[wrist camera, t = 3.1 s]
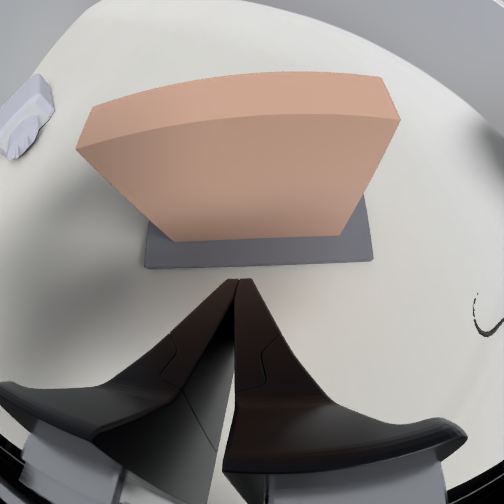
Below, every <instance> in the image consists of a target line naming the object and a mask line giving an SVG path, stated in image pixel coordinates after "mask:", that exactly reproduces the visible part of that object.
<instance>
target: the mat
mask: <svg viewBox="0 0 504 504" xmlns="http://www.w3.org/2000/svg"><path fill="white" fill-rule="evenodd" d="M373 259H374V258H373V250H372V243H371V235H370V229H369V222H368V216H367V210H366V205H365V199H364V194H363V195H362V197H361V199H360V200H359V202H358V204H357V206H356V208H355V209H354V211H353V213H352V215H351V216H350V218H349V220H348V222H347V223H346V225H345V227H344V229H343V230H342V232H341V234H340V235H339V236H312V237H283V238H257V239H234V240H211V241H190V242H174V241H172V240H171V239H170V238H169V237H168V236H167V235H166V234H165V233H163V232H162V231H161V230H160V229H159V228H158V227H157V226H156V225H154V224H153V223H152V222H151V221H150V220H149V224H148V233H147V242H146V252H145V263H144V267H146V268H148V269H156V268H202V267H238V266H269V265H296V264H321V263H345V262H366V261H371V260H373Z"/></svg>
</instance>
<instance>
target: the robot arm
mask: <svg viewBox="0 0 504 504" xmlns="http://www.w3.org/2000/svg"><path fill="white" fill-rule="evenodd" d="M233 373H234V374H235V410H234V415H233V419H232V424H231V428H230V432H229V437H228V441H227V445H226V450H225V454H224V458H223V465H222V472H223V474H224V475H225V476H226V478H227V479H228V480H229V481H230V483H231V484H232V485H233V487H234V488H235V489H236V490H237V492H238V493H239V494H240V495H241V496H242V498H243V499H244V500H245V501H246V502H247V504H504V460H503V461H502V462H500V463H499V464H497V465H495V466H494V467H492V468H490V469H489V470H487V471H485V472H483V473H482V474H480V475H478V476H476V477H474V478H472V479H471V480H469V481H467V482H465V483H463V484H461V485H458V486H456V487H454V488H452V489H450V490H448V491H447V490H446V485H445V480H444V475H443V471H442V466H441V461H443V460H444V459H446V458H447V457H448V456H450V455H451V454H452V453H454V452H455V451H456V450H457V449H459V448H460V447H461V446H462V445H463V444H464V443H465V442H466V441H467V439H468V436H467V434H466V433H465V432H464V430H463V429H461V427H459V426H458V425H456V424H455V423H453V422H451V421H449V420H446V419H444V418H440V417H437V418H430V419H426V420H423V421H419V422H416V423H411V424H401V425H397V424H389V423H385V422H382V421H379V420H376V419H374V418H371V417H368V416H366V415H363V414H360V413H358V412H355V411H353V410H350V409H348V408H346V407H343V406H341V405H339V404H337V403H336V402H334V401H333V400H332V399H330V398H329V397H328V396H327V395H326V393H325V392H324V391H323V390H322V389H321V388H320V386H319V385H318V384H317V383H316V382H315V380H314V379H313V378H312V377H311V375H310V374H309V373H308V372H307V371H306V369H305V368H304V367H303V366H302V364H301V363H300V362H299V360H298V359H297V358H296V356H295V355H294V354H293V352H292V350H291V349H290V347H289V345H288V344H287V342H286V340H285V338H284V337H283V335H282V333H281V331H280V330H279V328H278V326H277V324H276V322H275V321H274V319H273V317H272V315H271V313H270V311H269V310H268V308H267V306H266V304H265V302H264V300H263V299H262V297H261V295H260V293H259V291H258V289H257V287H256V286H255V284H254V282H253V280H252V279H251V278H246V279H240V280H239V279H227V280H226V281H225V282H223V283H222V284H221V285H220V286H219V287H218V288H217V289H216V290H215V291H214V292H213V293H212V294H211V295H210V296H208V297H207V298H206V299H205V300H204V301H203V302H202V303H201V304H200V305H199V306H198V307H197V308H196V309H195V310H193V311H192V312H191V313H190V314H189V315H188V316H187V317H186V318H185V319H184V320H183V321H182V322H181V323H180V324H178V325H177V326H176V327H175V328H174V329H173V330H172V331H171V332H170V334H168V335H167V336H165V337H164V338H163V339H162V340H161V341H160V342H159V343H158V344H157V345H155V346H154V347H153V348H152V349H151V350H150V351H148V352H147V353H146V354H144V355H143V356H142V357H141V358H139V359H138V360H137V361H135V362H134V363H133V364H131V365H130V366H129V367H127V368H126V369H125V370H123V371H122V372H120V373H119V374H118V375H116V376H115V377H114V378H112V379H111V380H109V381H108V382H106V383H104V384H101V385H99V386H94V387H85V388H66V389H33V388H26V387H23V386H20V385H18V384H16V383H14V382H11V381H8V382H0V405H1V406H2V407H3V408H4V409H5V410H6V411H7V412H8V413H9V414H10V415H11V416H12V417H13V418H14V419H15V420H16V421H17V422H19V423H20V424H21V425H22V426H23V427H24V428H25V429H27V430H28V431H29V432H30V434H29V436H28V438H27V440H26V443H25V445H24V447H23V450H21V449H19V448H18V447H16V446H15V445H14V444H12V443H11V442H10V441H8V440H7V439H6V438H5V437H3V436H2V435H1V434H0V504H207V500H208V495H209V490H210V485H211V481H212V476H213V471H214V466H215V462H216V457H217V454H216V453H217V452H218V447H219V442H220V437H221V432H222V427H223V422H224V417H225V413H226V408H227V403H228V398H229V393H230V388H231V383H232V378H233Z"/></svg>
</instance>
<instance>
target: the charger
mask: <svg viewBox="0 0 504 504" xmlns="http://www.w3.org/2000/svg"><path fill="white" fill-rule="evenodd" d="M53 113H54V107H53V101H52V95H51V88H50V86H49V85H48V83H47V82H46V81H45V80H44V78H43V77H42V76H41V75H40V74H36V75H34V76H32V77H31V78H30V79H28V80H27V81H26V82H25V83H24V84H23V85H22V86H21V87H20V88H19V89H18V90H17V91H16V92H15V93H14V94H13V95H12V96H11V97H10V98H9V99H8V101H7V102H6V103H5V104H4V105H3V106H2V107H1V109H0V152H1V153H2V154H3V155H4V156H6V157H7V160H10V159H14V158H16V159H17V158H19V155H22V154H23V152H24V151H25V150H26V149H27V148H28V147H29V146H30V145H31V144H32V143H33V142H34V140H35V138H36V135H37V133H38V130H39V129H40V128H41V127H42V126H43V125H44V124H45V123H46V122H47V121H48V120H49V119H50V118H51V116H52V115H53Z"/></svg>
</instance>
